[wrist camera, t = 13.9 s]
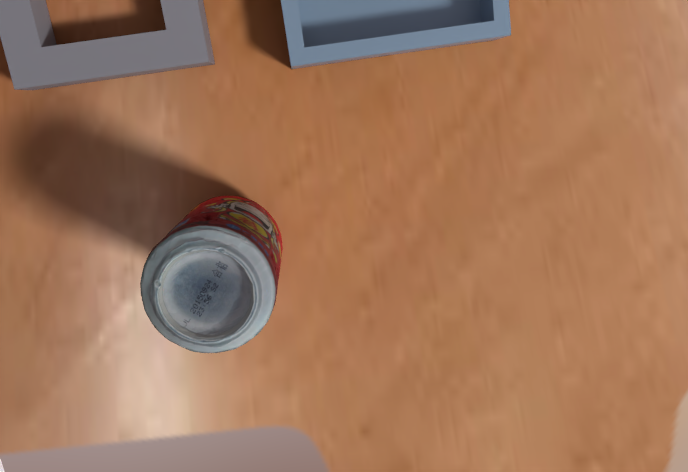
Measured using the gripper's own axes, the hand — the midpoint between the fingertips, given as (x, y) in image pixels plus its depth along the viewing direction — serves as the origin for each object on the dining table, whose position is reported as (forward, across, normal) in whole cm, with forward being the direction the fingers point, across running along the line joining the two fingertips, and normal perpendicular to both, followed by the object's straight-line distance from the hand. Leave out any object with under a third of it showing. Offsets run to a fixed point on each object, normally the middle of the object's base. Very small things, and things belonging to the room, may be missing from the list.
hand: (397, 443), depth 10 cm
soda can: (+32, +7, +3) cm, 33 cm away
